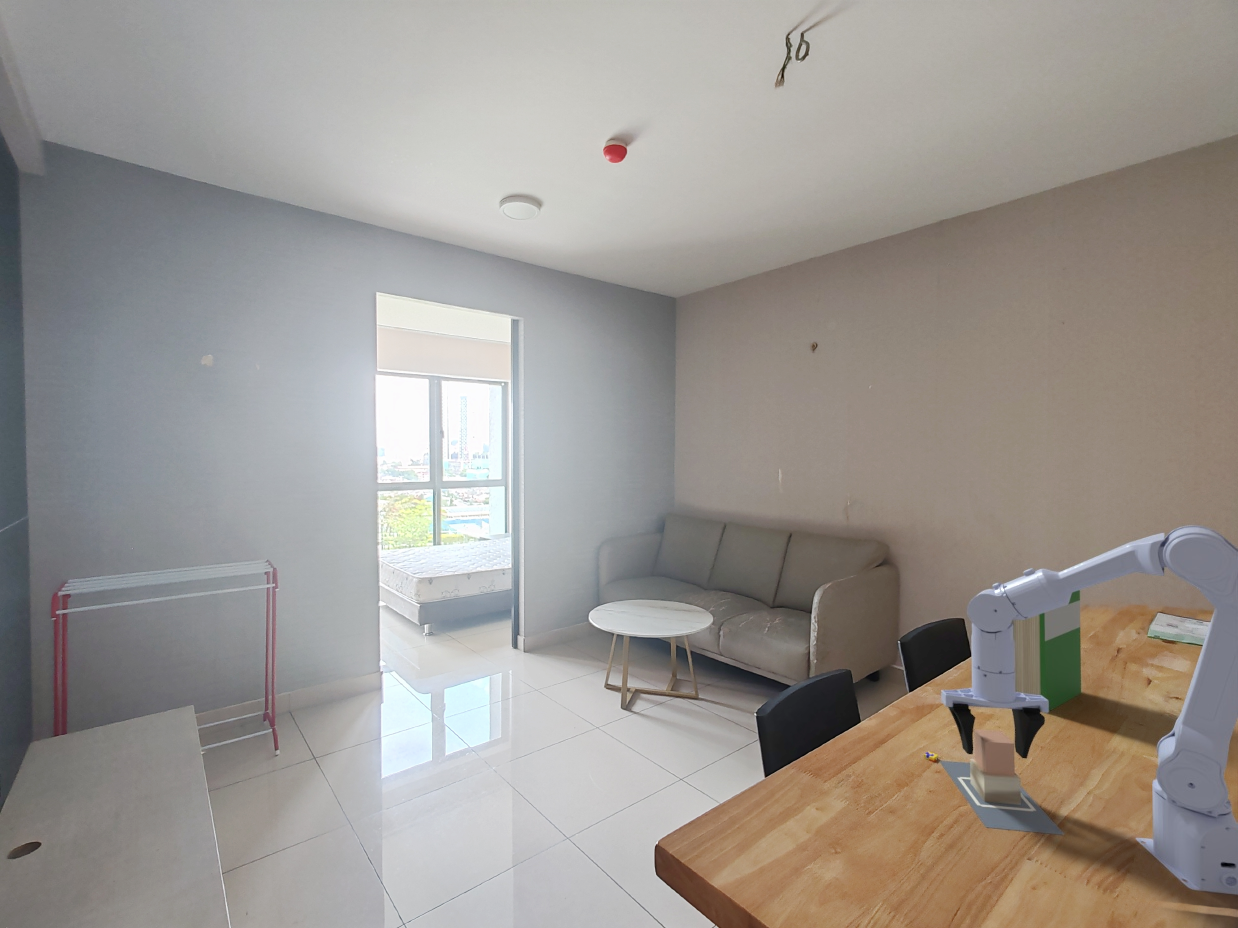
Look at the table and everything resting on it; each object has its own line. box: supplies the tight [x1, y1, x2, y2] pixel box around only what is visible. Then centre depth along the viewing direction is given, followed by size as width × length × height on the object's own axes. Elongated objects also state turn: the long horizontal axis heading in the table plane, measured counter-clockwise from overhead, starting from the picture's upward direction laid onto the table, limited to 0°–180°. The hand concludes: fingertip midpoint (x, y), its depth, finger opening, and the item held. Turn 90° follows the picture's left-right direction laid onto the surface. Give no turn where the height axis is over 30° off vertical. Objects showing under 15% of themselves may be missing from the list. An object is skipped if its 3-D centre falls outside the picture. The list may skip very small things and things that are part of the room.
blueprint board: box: [938, 760, 1066, 836], centre depth 88 cm, size 18×10×1 cm, turn 169°
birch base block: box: [969, 758, 1022, 805], centre depth 88 cm, size 5×5×4 cm
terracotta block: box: [973, 728, 1016, 776], centre depth 88 cm, size 4×4×5 cm
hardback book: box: [1011, 590, 1082, 712], centre depth 124 cm, size 18×7×24 cm, turn 122°
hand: (994, 752), depth 88 cm, fingers open, 7 cm apart
